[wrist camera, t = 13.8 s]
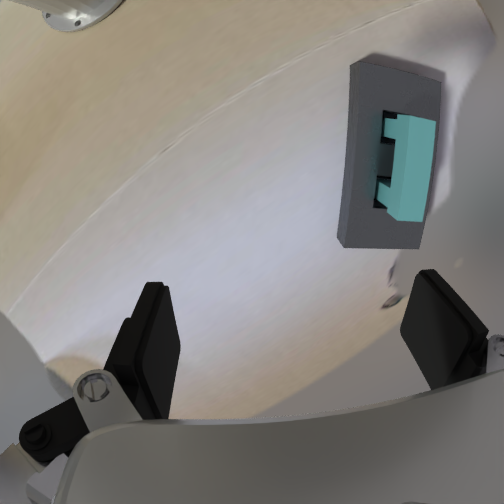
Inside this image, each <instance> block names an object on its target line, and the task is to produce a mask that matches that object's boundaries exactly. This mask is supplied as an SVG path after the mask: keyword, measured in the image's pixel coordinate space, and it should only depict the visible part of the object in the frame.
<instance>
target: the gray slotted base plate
mask: <svg viewBox="0 0 504 504" xmlns="http://www.w3.org/2000/svg"><path fill="white" fill-rule="evenodd" d="M440 99H441V82H439V81H436V80H433V79H429V78H426V77H423V76H419V75H416V74H412V73H409V72H405V71H401V70H397V69H393V68H388V67H384V66H380V65H375V64H370V63H365V62H357V63H355V64H352V65H350V90H349V113H348V130H347V145H346V157H345V169H344V179H343V189H342V198H341V207H340V215H339V224H338V231H337V239H338V240H339V241H340V243H341V244H342V246H343V247H344V248H377V249H419V247H420V243H421V238H422V234H423V229H424V225H425V220H426V215H427V210H428V205H429V199H430V193H431V187H432V181H433V174H434V167H435V159H436V151H437V142H438V131H439V118H440ZM383 111H384V112H390V113H395V114H400V115H410V116H415V117H419V118H424V119H428V120H432V121H436V126H435V138H434V149H433V158H432V166H431V173H430V180H429V187H428V193H427V199H426V205H425V210H424V216H423V221H422V222H414V221H397V220H396V219H395V218H393V217H392V216H391V215H390V214H389V213H387V208H388V207H386V206H385V205H384V204H382V203H381V202H380V201H374V195H375V188H376V180H377V175H378V176H388V177H392V171H393V162H394V152H395V144H391V143H384V142H381V129H382V114H383Z"/></svg>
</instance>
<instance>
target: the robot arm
mask: <svg viewBox="0 0 504 504" xmlns="http://www.w3.org/2000/svg"><path fill="white" fill-rule="evenodd" d="M9 1H12V2H16V3H19V4H22V5H25V6H29V7H32V8H35V9H38V10H40V11H42V15H43V18H44V20H45V22H46V23H47V24H48V26H50V27H51V28H53V29H55V30H58V31H62V32H76V31H80V30H84V29H86V28H88V27H91V26H93V25H94V24H96V23H98V22H100V21H101V20H103V19H104V18H105V17H107V16H108V15H109V14H110V13H111V12H112V11H114V10H115V9H116V8H117V7H118V5H119V4H120V3H121V2H122V1H123V0H9ZM488 332H489V330H488V329H487V328H486V326H485V325H484V324H483V323H482V322H481V320H480V319H479V318H478V317H477V316H476V315H475V313H474V312H473V311H472V310H471V309H470V308H469V306H468V305H467V304H466V303H465V302H464V301H463V300H462V299H461V297H460V296H459V295H458V294H457V293H456V292H455V291H454V290H453V289H452V288H451V286H450V285H449V284H448V283H447V282H446V281H445V280H444V279H443V278H442V277H441V276H440V275H439V274H438V273H437V272H436V271H435V270H434V269H428V270H421V271H420V272H419V274H417V275H416V277H415V280H414V284H413V287H412V291H411V294H410V298H409V301H408V305H407V308H406V311H405V314H404V317H403V321H402V324H401V327H400V333H401V336H402V338H403V339H404V341H405V343H406V344H407V346H408V348H409V350H410V351H411V353H412V355H413V357H414V359H415V360H416V362H417V364H418V366H419V368H420V370H421V371H422V373H423V375H424V377H425V379H426V381H427V382H428V384H429V386H430V388H431V390H430V391H427V392H423V393H419V394H415V395H411V396H407V397H402V398H398V399H394V400H389V401H384V402H380V403H375V404H369V405H364V406H359V407H353V408H348V409H340V410H334V411H327V412H319V413H310V414H301V415H292V416H281V417H267V418H246V419H168V417H169V411H170V405H171V399H172V393H173V387H174V382H175V376H176V371H177V365H178V360H179V355H180V339H179V335H178V330H177V326H176V321H175V316H174V311H173V306H172V301H171V296H170V291H169V287H168V286H164V284H163V282H147V283H146V284H145V286H144V288H143V291H142V293H141V295H140V297H139V300H138V302H137V304H136V306H135V309H134V311H133V313H132V316H131V318H126V319H125V320H124V321H123V324H122V326H121V328H120V330H119V333H118V335H117V337H116V340H115V342H114V344H113V347H112V349H111V352H110V354H109V357H108V359H107V361H106V364H105V366H104V369H103V370H101V369H96V370H91V371H88V372H85V373H84V374H82V375H81V376H80V377H79V378H78V379H77V380H76V381H75V383H74V385H73V396H74V397H72V398H70V399H68V400H66V401H65V402H63V403H61V404H59V405H57V406H55V407H53V408H51V409H50V410H48V411H46V412H44V413H42V414H40V415H38V416H36V417H34V418H32V419H31V420H29V421H27V422H26V423H25V424H24V425H23V427H22V429H21V431H20V434H19V441H20V442H19V443H18V444H17V445H15V444H14V443H12V444H11V445H10V446H9V447H8V448H7V449H6V450H5V451H4V452H3V453H2V454H1V455H0V504H51V501H52V498H53V497H54V496H55V494H56V496H55V499H54V503H53V504H504V336H503V335H499V334H498V335H493V336H491V337H490V338H489V340H488V339H487V338H486V336H487V334H488Z"/></svg>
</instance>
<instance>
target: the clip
mask: <svg viewBox="0 0 504 504" xmlns="http://www.w3.org/2000/svg"><path fill="white" fill-rule="evenodd" d="M435 126H436V121H432V120H428V119H424V118H419V117H415V116H410V115H399V114H397V119H389V118H382V129H381V136H384V137H388V138H393V139H396V141H395V152H394V162H393V171H392V179H382V178H377V180H376V188H375V195H374V198H376V199H377V200H378V201H380V202H381V203H382V204H384V205H385V206H386V207H388V208H387V213H389V214H390V215H391V216H392V217H393V218H395V219H396V220H397V221H414V222H422V221H423V216H424V210H425V205H426V199H427V193H428V187H429V180H430V173H431V166H432V158H433V149H434V138H435Z"/></svg>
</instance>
